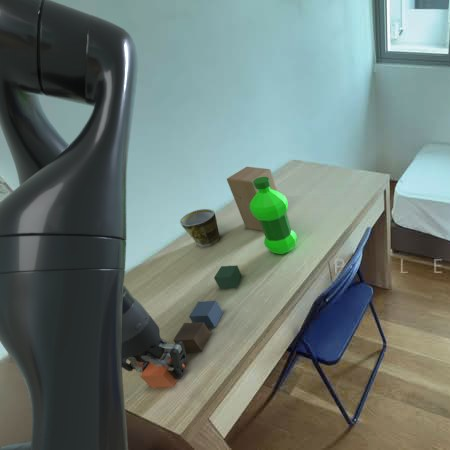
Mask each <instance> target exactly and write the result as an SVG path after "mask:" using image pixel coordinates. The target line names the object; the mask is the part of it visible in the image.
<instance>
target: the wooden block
mask: <svg viewBox="0 0 450 450" xmlns="http://www.w3.org/2000/svg"><path fill="white" fill-rule="evenodd" d="M259 177H268V178H269V180H270V183H271V185H270V186H269V187H270V189H273V190H275V191H278V190H277V186H276V184H275V180H274V176H273V173H272V170H271V169H270V168H263V167H254V166H245V167H243V168H241V169H240V170H238V171H237V172H235V173H234V174H232V175H230V176H229V177H227V178H226V182H227V184H228V187H229V190H230V192H231V194H232V196H233V199H234V202H235V204H236V206H237V209H238V212H239V214H240V217H241V220H242V222H243V224H244V227H245V228H246V229H248V230H254V231H259V232H263V229H262V226H261V224H260V221H259V220H258V219H257V218H256V217H255V216H254V215H253V214H252V212H251V210H250V203H251V201H252V199H253V198H254V196H255V195H256V194H257V193H258V189H256V188H255V186H254V184H253V181H254V180H255V179H257V178H259Z"/></svg>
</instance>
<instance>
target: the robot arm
mask: <svg viewBox="0 0 450 450" xmlns="http://www.w3.org/2000/svg"><path fill="white" fill-rule="evenodd" d="M137 80H138V54H137V48H136V44H135V41H134V39H133V37H132V36H131V34H130V33H129V32H128V31H127V30H126V29H125V28H123V27H121V26H119V25H117V24H116V23H113V22H110V21H108V20H107V19H103V18H101V17H99V16H95V15H93V14H89V13H86V12H84V11H81V10H78V9H75V8H73V7H70V6H68V5H65V4H63V3H62V4H61V3H59V2H57V1H54V0H0V128H1V131H2V134H3V136H4V139H5V142H6V144H7V147H8V150H9V152H10V155H11V157H12V160H13V163H14V166H15V171H16V174H17V178H18V184H19V185H18V186H17V187H16V188H15V189H14V190H13V191H12V192H11V193H9V194H8V195H7V196H6V197H5V198H3V200H1V201H0V344H1V345H2V347H3V348H4V350H5V351H6V353H7V354H8V356H9V357H10V358H11V360H12V361H13V362H14V364H15V366H16V368H17V369H18V371H19V373H20V375H21V377H22V378H23V380H24V384H25V386H26V389H27V392H28V396H29V400H30V409H31V411H30V412H31V433H30V434H31V435H30V436H31V437H30V440H26V441H18V442H14V443H10V444H6V445H3V446H1V447H0V450H129V443H128V442H129V441H128V429H127V417H126V403H125V392H124V391H125V390H124V379H123V378H124V377H123V369H124V370H125V371H127V372H133V370H135V371H136V372H137V373H141V374H142V373H143V371H144V370H145V368H146V367H147V365H148V364H149V362H151V363H152V364H154V365H155V366H157V367H160V366H162V367H164V368H165V369H167V370H168V372H169V373H170V374H171V375H172V376H173V377H174V378H175V379H177V380H180V379H182V377H183V375H184V373H185V371H186V369H185V367H183V366H182V364H184V362H185V361H186V359H187V352H185V348H184V345H183V342H181V341H177V342H176V343H175V342H174V344H173V343H168V342H167V341H166V340H165V339H163V338H162V337H161V331H160V327H159V325H158V324H157V322H156V321H155V320H154V319H153V317H152V316H151V315H150V313H149V312H148V311H147V309H146V308H145V307H144V306H143V304H142V303H141V302H140V301H138V300H137V298H135V297H134V296H133V295H132V293H131V292H130V290H129V289H128V288H127V287H126V285H125V284H124V283H125V276H126V263H127V261H126V260H127V259H126V258H127V181H128V180H127V177H128V160H129V150H130V140H131V131H132V124H133V116H134V106H135V99H136V90H137V82H138V81H137ZM39 95H40V96H45V97H48V98H54V99H58V100H62V101H67V102H71V103H76V104H81V105H85V106H90V107H93V108H92V111H91V113H90V115H89V118H88V120H87V122H86V123H85V124H84V126H83V128H82V129H81V130H80V132H79V134H78V135H77V136H76V137H75V138H74V139H73V140H72V141H71V143H68V142H67V141H66V140H65V138H63V136H62V135H61V134H60V132H58V130H57V129H56V128H55V126H54V125H53V123H51V121H50V120H49V118H48V116H47V115H46V113H45V111H44V109H43V107H42V104H41V102H40V98H39ZM162 355H163V356H162ZM161 357H162V358H161ZM160 358H161V359H160ZM159 359H160V360H159ZM168 359H171V362H170V364H169V363H168V362H167V361H168ZM127 361H129V363H128V362H127Z"/></svg>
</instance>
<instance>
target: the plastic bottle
mask: <svg viewBox="0 0 450 450" xmlns="http://www.w3.org/2000/svg"><path fill="white" fill-rule="evenodd" d="M253 184H254V186H255V188H256V189H258V193H257V194H256V195H255V196H254V198H253V199H252V201H251V203H250V210H251V212H252V214H253V215H254V216H255V217H256V218H257V219H258V220H259V221H260V224H261V226H262V229H263V231H262V232H263V234H264V240H263V244H264V247H266V248H267V250H268V251H269V252H271V253H272V254H277V255H285V254H288V253H289V252H290V251H292V249H293V248H294V247H295V246H296V243H297V238H298V237H297V233H296V232H295V231H294V230H293V229H292V227H291V224H290V220H289V217H288V213H287V212H288V209H289V201H288V198H287V197H286V196H285V195H284V194H283V193H282V192H280V191H278V190H277V191H275V190H273V189H270V187H269V186H270V185H271V183H270V180H269V178H268V177H259V178H257V179H255V180H254V181H253Z"/></svg>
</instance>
